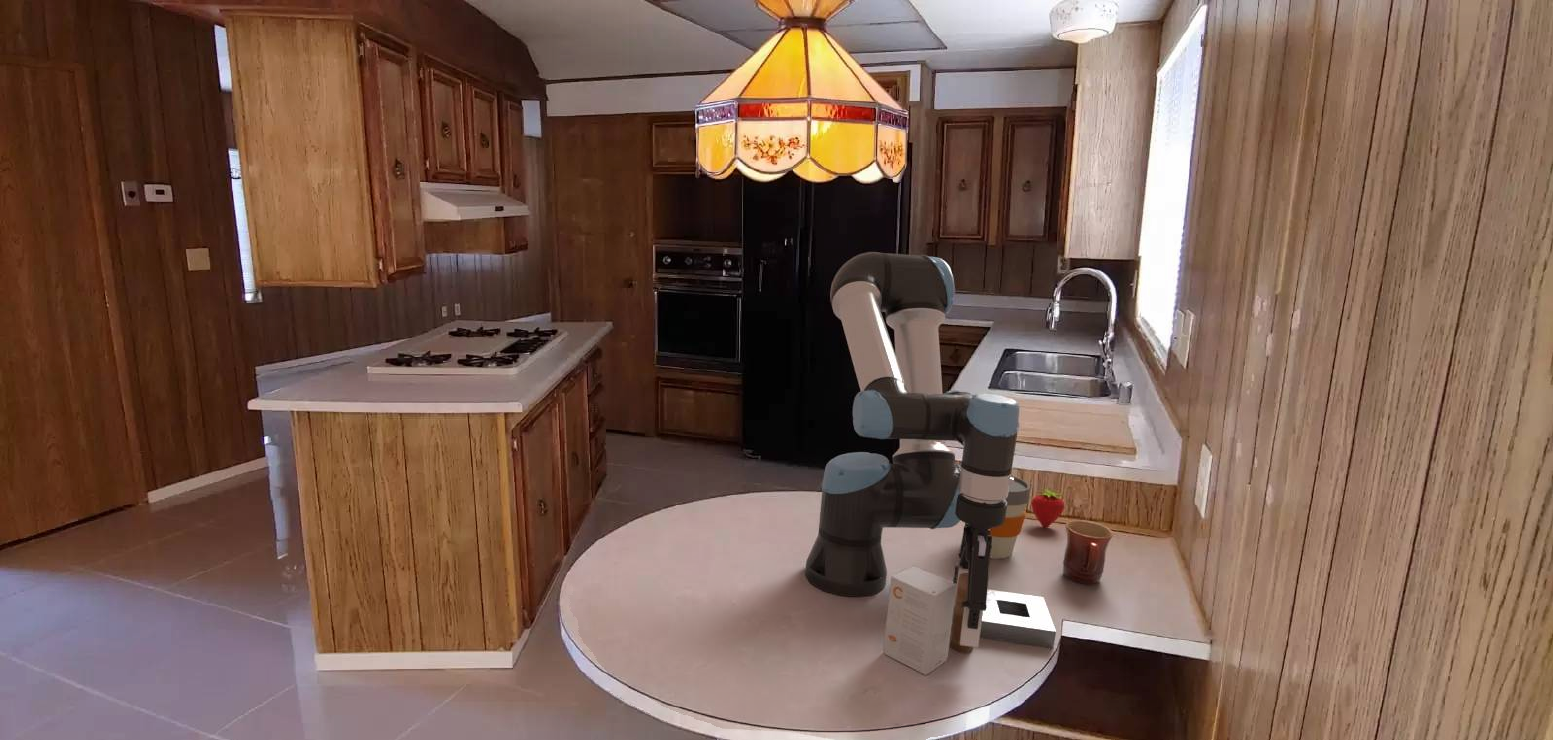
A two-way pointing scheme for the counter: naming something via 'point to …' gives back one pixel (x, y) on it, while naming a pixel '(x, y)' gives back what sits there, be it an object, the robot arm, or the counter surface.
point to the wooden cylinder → (960, 616)
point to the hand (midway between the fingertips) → (965, 625)
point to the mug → (1085, 551)
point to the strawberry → (1047, 507)
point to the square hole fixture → (1015, 618)
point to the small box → (919, 619)
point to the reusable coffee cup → (1010, 520)
